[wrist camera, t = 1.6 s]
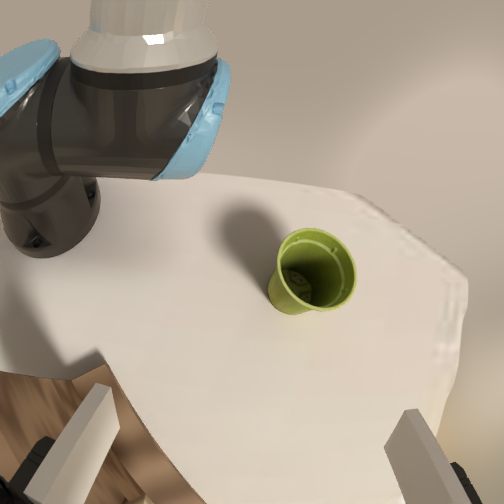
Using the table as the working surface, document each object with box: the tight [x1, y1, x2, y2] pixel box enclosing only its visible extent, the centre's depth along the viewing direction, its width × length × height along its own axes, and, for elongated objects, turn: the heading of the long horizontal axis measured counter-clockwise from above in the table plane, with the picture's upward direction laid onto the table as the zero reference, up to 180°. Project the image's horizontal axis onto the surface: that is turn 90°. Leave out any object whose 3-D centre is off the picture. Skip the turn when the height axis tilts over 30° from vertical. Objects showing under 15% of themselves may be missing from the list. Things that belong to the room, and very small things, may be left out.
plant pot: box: [268, 228, 357, 315], centre depth 34 cm, size 9×9×9 cm
